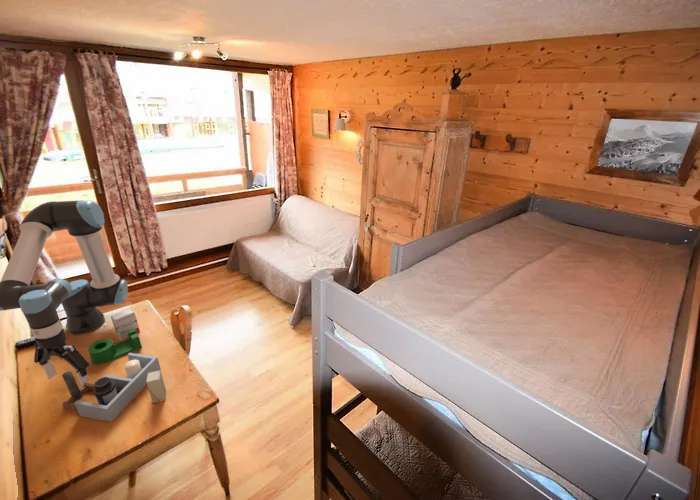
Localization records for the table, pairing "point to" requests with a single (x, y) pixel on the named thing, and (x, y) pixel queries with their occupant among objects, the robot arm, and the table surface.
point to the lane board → (126, 394)
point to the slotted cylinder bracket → (113, 348)
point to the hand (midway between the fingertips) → (68, 379)
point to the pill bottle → (105, 391)
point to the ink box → (125, 323)
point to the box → (156, 386)
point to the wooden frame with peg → (75, 389)
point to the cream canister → (132, 368)
